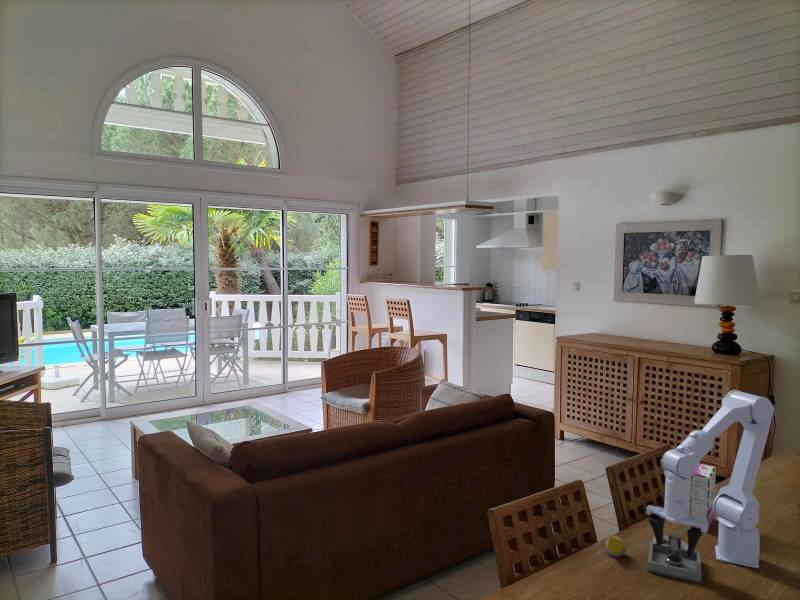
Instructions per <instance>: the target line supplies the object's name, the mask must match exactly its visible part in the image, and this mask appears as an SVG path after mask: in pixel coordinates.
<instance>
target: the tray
mask: <svg viewBox="0 0 800 600" xmlns="http://www.w3.org/2000/svg"><path fill="white" fill-rule="evenodd" d="M668 546H669V544H663V543H662V544H661V545H660V546H658V545H657V543H654V542H653V541H649V549H648V557H647V558H648V559H647V572H648V573H653V574H655V575H656V574H657V575H660V576H666V577H669V578H674V579H677V580H678V579H679V580H683V581H688V582H691V583H696V584H700V585H701V584H702V562H701V552H700V551H698V550H694V554H693V555H692V556H691V557H689V556H688V549H685V548H684V547H681V559H682V560H683V567H681V568H680V567H675V566H671V565H667V564H666V556H668Z"/></svg>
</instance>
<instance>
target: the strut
mask: <svg viewBox="0 0 800 600" xmlns="http://www.w3.org/2000/svg"><path fill="white" fill-rule="evenodd" d="M668 537H669V542H668V545H669V546H668V556H666V564H667V565H671V566H675V567H680V568H681V567H683V560H682V559H681V548H683V547H682V541H683V537H682V536H681V535H679V534H677V533H670V534H669V535H668Z"/></svg>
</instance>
